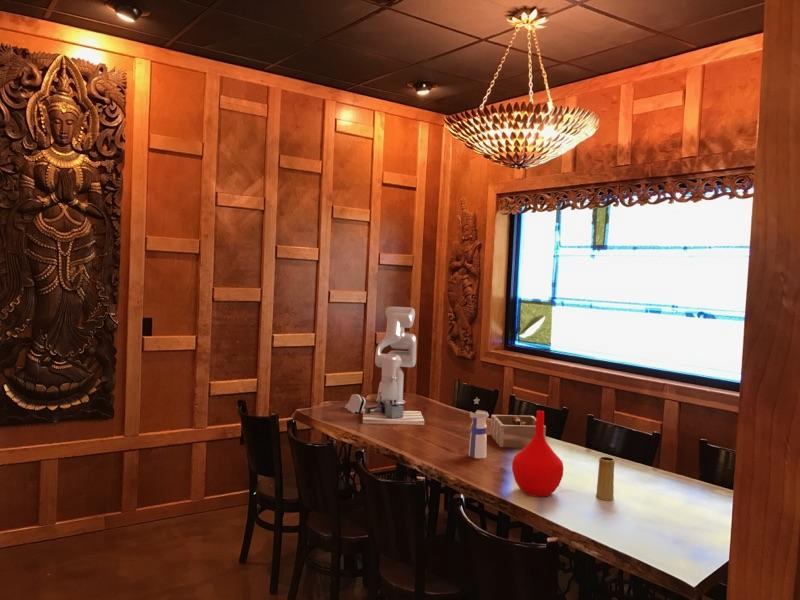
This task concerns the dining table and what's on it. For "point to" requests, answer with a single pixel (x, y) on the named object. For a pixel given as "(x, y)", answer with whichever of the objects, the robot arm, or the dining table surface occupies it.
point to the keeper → (368, 408)
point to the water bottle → (478, 433)
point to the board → (408, 419)
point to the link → (391, 410)
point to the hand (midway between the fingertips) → (387, 412)
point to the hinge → (356, 403)
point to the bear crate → (513, 430)
